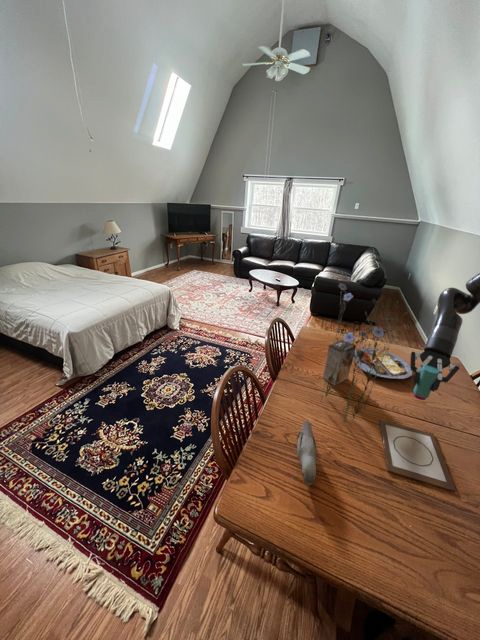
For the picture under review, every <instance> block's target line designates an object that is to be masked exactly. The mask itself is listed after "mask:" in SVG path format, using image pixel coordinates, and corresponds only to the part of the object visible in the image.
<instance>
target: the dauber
mask: <svg viewBox="0 0 480 640" xmlns="http://www.w3.org/2000/svg"><path fill="white" fill-rule="evenodd" d="M438 374H439V370H438V369H437V368H435V367H432V366H429V365H424V366H423V368H422V370H421V373H420V376H419V379H418V381H417V384H416V385H415V384H414V385H415V386H414V388H413V391H412V392H413V396H414V398H416V399H418V400H420V401H425V400H426V399H428V398H429V396H430V394H431V392H432V391H431V390H432V387H433V385H434V383H435V380H436V378H437V376H438Z"/></svg>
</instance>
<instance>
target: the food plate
mask: <svg viewBox="0 0 480 640" xmlns="http://www.w3.org/2000/svg"><path fill="white" fill-rule="evenodd" d="M367 348H369V349H368V350H367ZM359 349H361V352H362V353H360V350H359ZM362 349H363V350H362ZM364 349H365V350H364ZM358 350H359V351H358ZM366 350H367V351H366ZM386 350H387V348H385V351H384V349H379V348H375V352H376V351H377V352H376V353H375V354H376V355H374V357H375V359H374V360H373V361H372V355H373V352H374V348H373V347H364V348H363V347H360V348H356V350H355V357H356V361H355V358H354V356H353V360H354V363H355V364H356V363H357V364H356V365H357V367H358V366H359V365H360V363H361V362H362V363H361V366H360V370H362V371H364V372H365V373H367V370H368V373H369V371H370V367H371V364H370V362H369V361H370V360H371V362H372V367H371V370H372V368H373V367H374V368H373V370H372V371H371V372H370V375H371V374H372V373H373V374H372V375H374V376H376V375H377V376H376V377H381V378H385V379H396V380H405V379H407V378H409V377H411V376H412V375H413V372H414V371H413V370H411V369H410V364H409V363H408V362H407V361H406V360H404V359H403V358H402V357H400V356H398V355H396V354H394V353H391V352H389V351H388V350H387V351H386ZM357 351H358V352H357ZM365 351H366V352H365ZM364 352H365V353H364ZM385 352H386V353H385ZM363 353H364V354H363ZM356 354H357V355H356ZM384 354H385V355H384ZM362 355H363V357H362V358H361V360H360V358H359V357H361V356H362ZM383 356H384V357H383ZM369 357H370V359H369ZM381 357H382V358H381ZM366 359H367V360H366ZM382 359H383V362H382V363H381V361H382ZM357 361H358V362H357ZM367 361H368V363H369V365H370V367H369V365H368V363H367ZM379 364H381V365H380V367H379ZM365 367H366V368H365ZM378 367H379V370H378ZM366 369H367V370H366ZM376 369H377V370H378V373H377V374H376V375H375V370H376ZM368 373H367V374H368Z"/></svg>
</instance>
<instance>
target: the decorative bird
mask: <svg viewBox="0 0 480 640" xmlns="http://www.w3.org/2000/svg"><path fill="white" fill-rule="evenodd" d="M295 440H297V444H296V454H297V459H298V461H299V463H300V466H301V473H302V477H303V480H304V483H305V485H306V487H307V488H309V487H311V485H312V484H313V483H314V481H315V480H316V477H317V465H316V461H317V456H318V448H317V441H316V439H315V436H314V433H313V428H312V423H311V422H310V421H309V420H305V421H303V422H302V429H301V430H300V431H299V433H298V435H297V437H296V438H295Z"/></svg>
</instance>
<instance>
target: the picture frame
mask: <svg viewBox="0 0 480 640" xmlns="http://www.w3.org/2000/svg"><path fill="white" fill-rule="evenodd" d="M379 427H380V433H381V439H382V445H383V451H384V452H383V453H384V458H385V465H386V470H387V473H391V474H393V475H397V476H400V477H403V478H406V479H410V480H413V481H416V482H418V483H419V482H420V483H423V484H425V485H429V486H432V487H436V488H439V489H441V490H444V491H449V492H451V493H456V489H455V486H454V483H453V480H452V478H451V475H450V474H449V471H448V467H447V465H446V462H445V460H444V457H443V455H442V452H441V450H440V447H439V445H438V441H437V440H436V437H435V434H434V433H432V432H429V431H425V430H421V429H418V428H414V427H411V426H406V425H402V424H398V423H394V422H391V421H388V420H383V419H379Z"/></svg>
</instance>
